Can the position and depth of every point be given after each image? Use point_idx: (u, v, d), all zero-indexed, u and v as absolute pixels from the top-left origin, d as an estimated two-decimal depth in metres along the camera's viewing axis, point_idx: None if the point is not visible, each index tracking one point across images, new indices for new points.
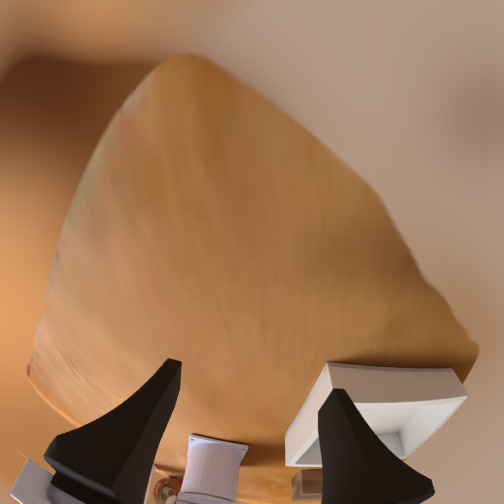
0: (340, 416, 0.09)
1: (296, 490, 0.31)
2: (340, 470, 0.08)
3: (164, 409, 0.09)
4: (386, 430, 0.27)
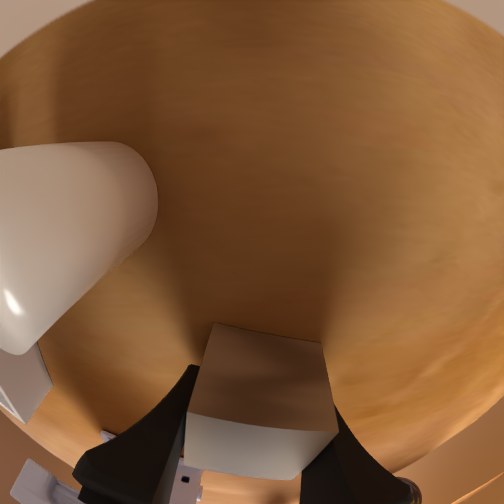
0: None
1: None
2: (316, 471, 0.08)
3: None
4: None
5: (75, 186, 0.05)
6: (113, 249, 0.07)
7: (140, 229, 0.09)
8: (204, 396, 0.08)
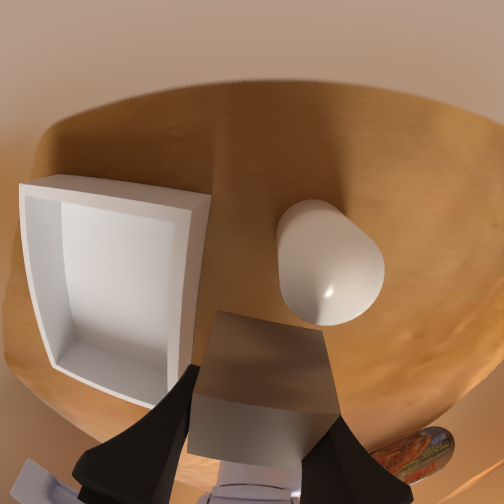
0: None
1: None
2: (317, 471, 0.08)
3: (188, 416, 0.09)
4: None
5: None
6: None
7: None
8: (209, 378, 0.08)
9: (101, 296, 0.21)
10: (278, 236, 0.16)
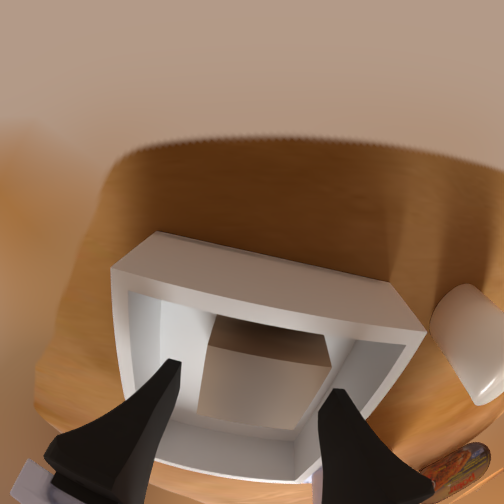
0: (340, 416, 0.09)
1: None
2: (340, 470, 0.08)
3: (164, 409, 0.09)
4: None
5: None
6: None
7: None
8: (221, 334, 0.10)
9: None
10: (451, 328, 0.13)
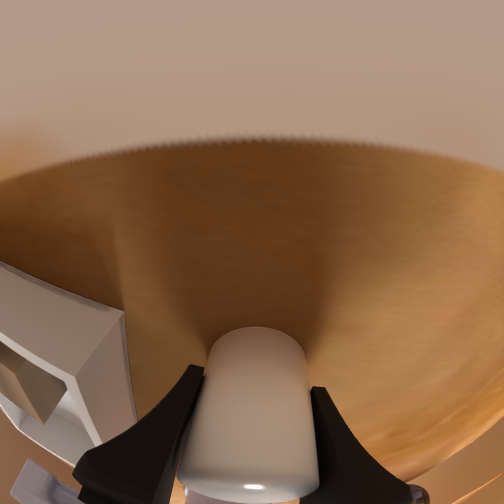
0: (318, 415, 0.09)
1: None
2: None
3: (189, 416, 0.09)
4: None
5: (312, 425, 0.08)
6: None
7: None
8: None
9: None
10: None
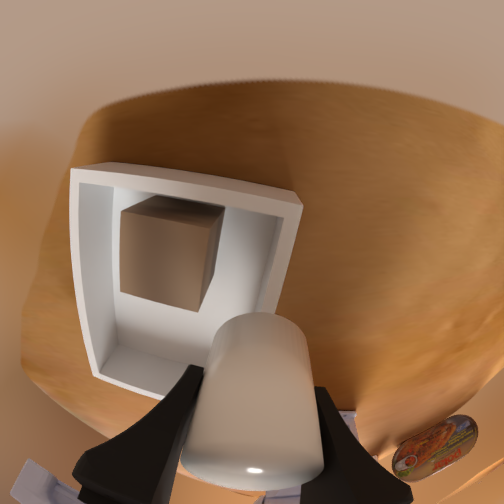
0: (318, 415, 0.09)
1: None
2: None
3: (188, 416, 0.09)
4: (253, 239, 0.18)
5: (317, 411, 0.09)
6: None
7: None
8: (133, 208, 0.14)
9: None
10: (205, 367, 0.11)
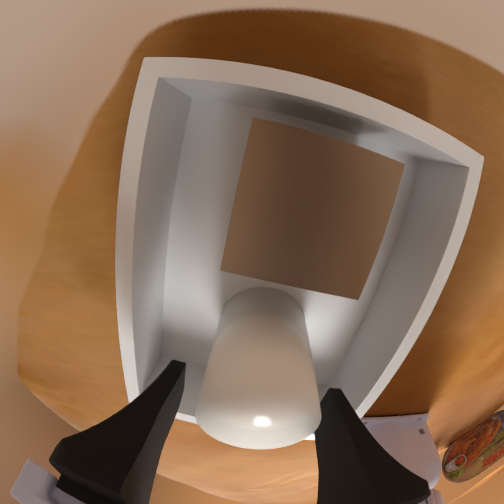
0: (336, 416, 0.09)
1: None
2: (335, 470, 0.08)
3: (169, 410, 0.09)
4: None
5: (314, 372, 0.11)
6: None
7: None
8: None
9: (238, 285, 0.15)
10: (216, 332, 0.13)
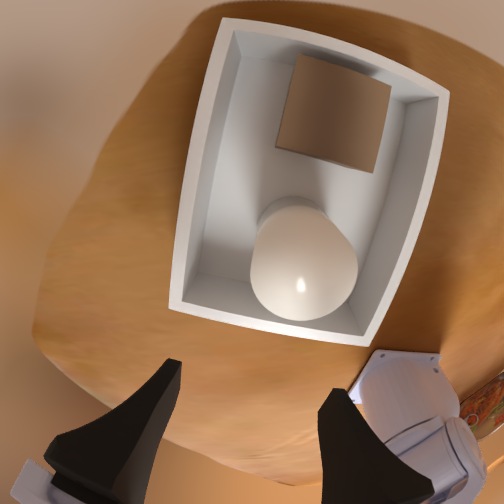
0: (340, 416, 0.09)
1: (325, 159, 0.14)
2: (340, 470, 0.08)
3: (164, 409, 0.09)
4: (385, 133, 0.16)
5: None
6: None
7: None
8: None
9: (274, 194, 0.18)
10: (259, 224, 0.16)
